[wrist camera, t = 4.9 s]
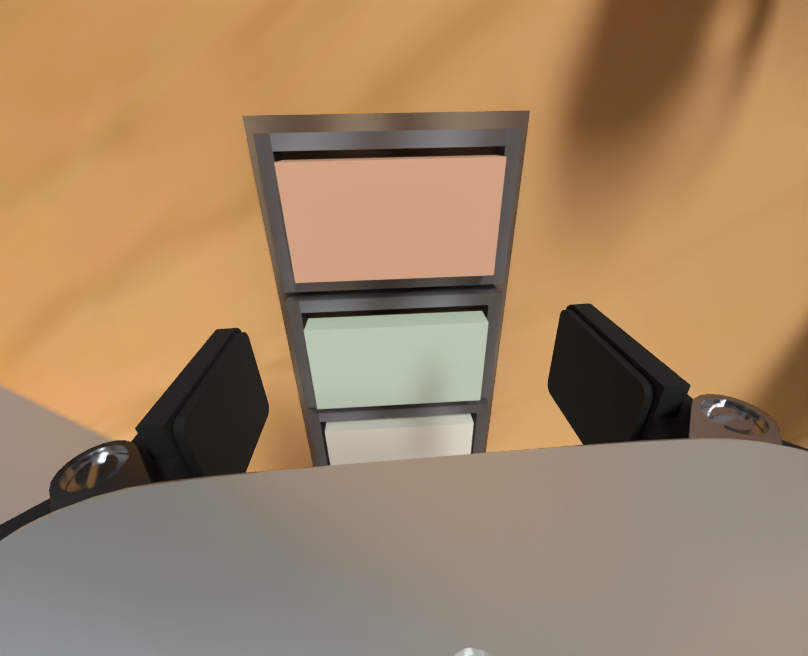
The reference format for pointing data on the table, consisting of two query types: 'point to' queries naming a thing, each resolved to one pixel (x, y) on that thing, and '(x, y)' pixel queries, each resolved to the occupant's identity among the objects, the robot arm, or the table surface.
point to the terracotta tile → (391, 216)
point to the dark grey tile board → (389, 296)
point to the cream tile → (398, 438)
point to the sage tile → (396, 358)
